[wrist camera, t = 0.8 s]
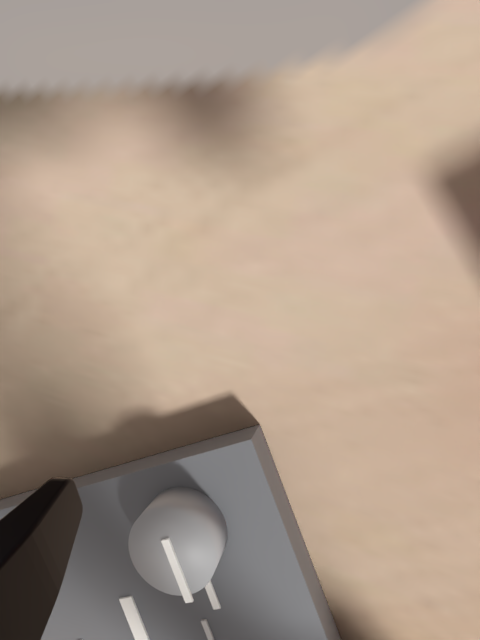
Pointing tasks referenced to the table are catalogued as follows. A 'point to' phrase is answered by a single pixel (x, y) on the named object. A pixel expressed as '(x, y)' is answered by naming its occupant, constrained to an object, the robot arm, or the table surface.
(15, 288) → the table surface
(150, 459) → the console
